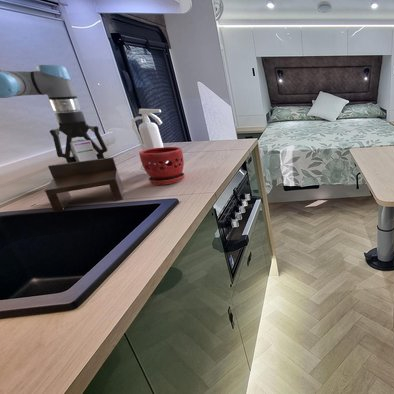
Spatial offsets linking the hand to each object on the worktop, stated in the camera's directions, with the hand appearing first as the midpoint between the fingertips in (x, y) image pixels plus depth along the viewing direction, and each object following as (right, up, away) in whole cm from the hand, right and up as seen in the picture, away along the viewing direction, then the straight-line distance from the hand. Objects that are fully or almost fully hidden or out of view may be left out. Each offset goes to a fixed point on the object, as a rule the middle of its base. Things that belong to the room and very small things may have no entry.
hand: (90, 171), depth 114 cm
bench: (+19, -11, -21) cm, 30 cm away
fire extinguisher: (+23, +1, +7) cm, 24 cm away
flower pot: (+34, -4, -5) cm, 35 cm away
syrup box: (0, -2, +1) cm, 2 cm away
